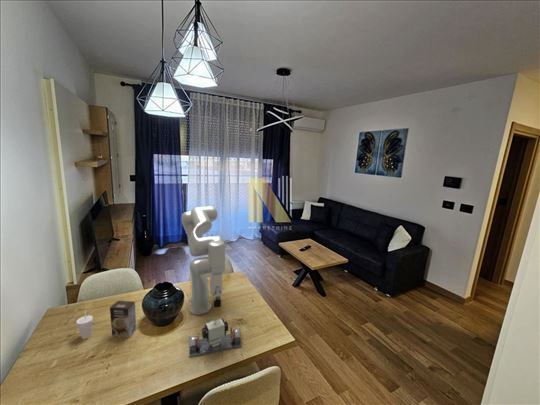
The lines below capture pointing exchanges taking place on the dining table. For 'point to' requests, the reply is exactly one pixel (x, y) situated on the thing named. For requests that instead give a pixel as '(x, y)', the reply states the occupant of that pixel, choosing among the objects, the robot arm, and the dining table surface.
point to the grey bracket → (203, 347)
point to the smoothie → (85, 325)
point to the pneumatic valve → (215, 331)
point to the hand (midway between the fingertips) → (216, 300)
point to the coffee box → (123, 318)
